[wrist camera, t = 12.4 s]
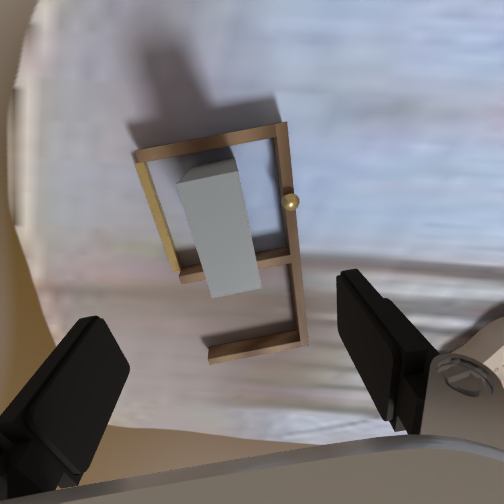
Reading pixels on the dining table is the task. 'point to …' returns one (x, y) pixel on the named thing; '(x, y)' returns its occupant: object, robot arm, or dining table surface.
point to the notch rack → (263, 258)
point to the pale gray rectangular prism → (220, 227)
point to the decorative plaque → (487, 347)
